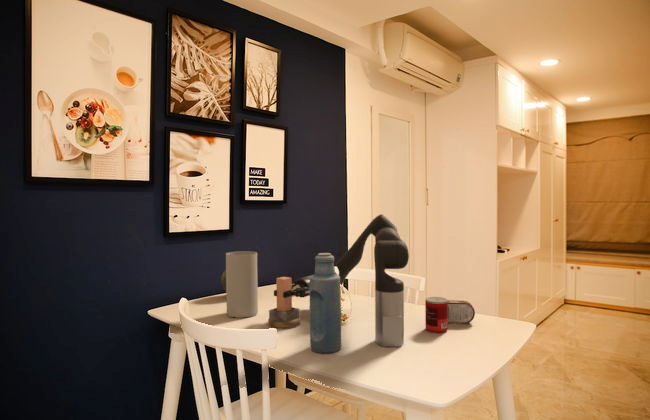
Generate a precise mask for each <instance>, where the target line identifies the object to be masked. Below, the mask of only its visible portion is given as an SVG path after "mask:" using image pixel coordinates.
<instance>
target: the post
mask: <svg viewBox="0 0 650 420" xmlns="http://www.w3.org/2000/svg"><path fill="white" fill-rule="evenodd" d="M292 284H293V280H292V277H288V276H281V277H277V278H276V284H275V285H276V287H275V288H276V290H277V296H276V308H277V311H280V312H288V311H291V310H292V307H293V305H292V303H293V302H292V301H293V297H291V296H290V297H287V298H283V292H285V291H289V290H291V289H292Z"/></svg>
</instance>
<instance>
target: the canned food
mask: <svg viewBox="0 0 650 420" xmlns="http://www.w3.org/2000/svg"><path fill="white" fill-rule="evenodd" d="M448 300H449V299H447V298H445V297H442V296H429V297H425V306H424V307H425V308H424V309H425V316H424V317H425V330H426V331H427V332H429V333H434V334H443V333H446V332H447V331H448V328H449V327H448V325H449V323H448Z"/></svg>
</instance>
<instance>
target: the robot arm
mask: <svg viewBox="0 0 650 420" xmlns="http://www.w3.org/2000/svg"><path fill="white" fill-rule="evenodd" d="M371 235H373V237H374V240H375V241H374V242H375V244H374V247H373V248H374V249H373V252H374V253H373V255H374V256H373V257H374V259H373V260H374V270H375V271H374V276H375V279H374V281H375V282H374V285H375V286H374V287H375V288H374V294H375V295H374V303H375V304H374V307H375V309H374V310H375V312H374V313H375V314H374V323H375V324H374V331H375V332H374V334H375V339H374V340H375V343H376V344H378V345H379V346H381V347H402V346H403V345H404V343H405V342H404V341H405V337H404V336H405V327H404V325H405V324H404V323H405V321H404V319H405V316H404V315H405V314H404V313H405V311H404V310H405V309H404V308H405V306H404V305H405V303H404V302H405V293H404V292H405V289H404V281H403V280H401V279H399V278H396V277H394V276H391V275H389V274H388V273H387V272H386V270H401V269H404V268H405V267H407V265H408V263H409V259H410V258H409V257H410V256H409V254H410V253H409V250H408V249H409V248H408V246H407V244H406V242H405V241H404V240H403V239H401V237H400V234H399V233H398V228H397V227H396V225H395V224H393V223H392V221H390V220H389V219H388V218H387V217H386V216H385V215H384V214H378V215H377V216H375V217H374V219H372V221H370V223H369V224H368V225H367V226H366V227H365V228H364V230H363V231H362V233H361V234H360V235H359V236H358V238H357V239H356V240H355V242H353V244H352V245H351V247H350V248H349V249H348V250H346V252H345V253H344V254H343V255H342V256H341V257H340V258H339V259H338V260H337V261H336V264H335V265H336V268H337V269H338V273H337V272H336V271H335V274H336V275H339V276H340V284H341V285H343V283H344V282H345V281H346V278H347V277H348V275H349V274H350V273H351V272H352V271H353V269H354V268H355V267H357V266H358V264H359V263H360V262H361V260H362V257H363V253H364V249H365V246H366V243H367V240H368V239H369V237H370V236H371ZM310 276H311V275H309V276H304V277H300V278H297V279H296V280H295V281H294V283H292V289H291V290H289V291H285V292H283V298H287V297H290V296H291V297H292V298H293V297H295V298H306V297H310V290H309V280H310ZM273 296H274V297H277V289H274V290H273Z"/></svg>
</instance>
